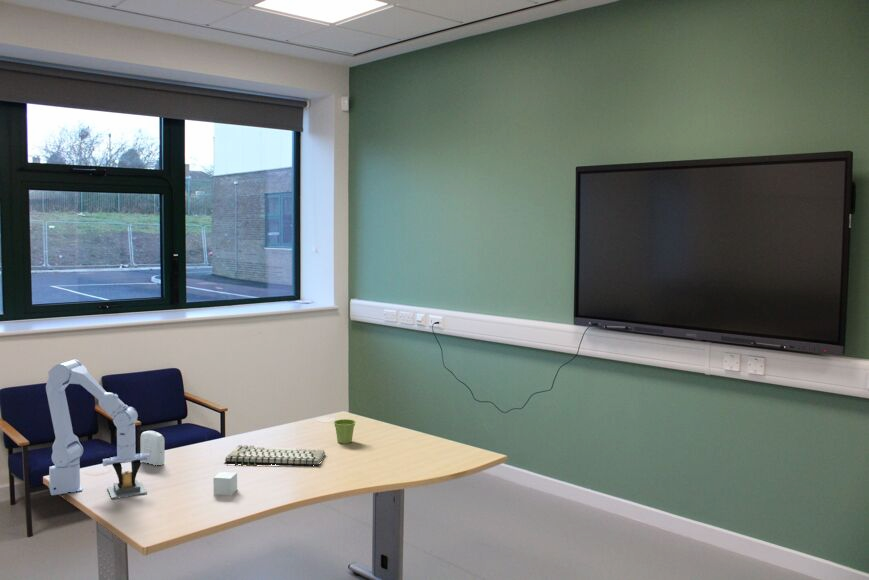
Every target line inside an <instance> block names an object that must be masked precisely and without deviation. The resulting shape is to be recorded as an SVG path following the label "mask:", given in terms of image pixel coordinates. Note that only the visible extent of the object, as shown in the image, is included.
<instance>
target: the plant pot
mask: <svg viewBox="0 0 869 580" xmlns="http://www.w3.org/2000/svg"><path fill="white" fill-rule="evenodd" d="M356 423H357V421H356V420H354V419H351V418H350V419H349V418H348V419H347V418H346V419H342V418H341V419H337V420H334V421H333V425H334V428H335V431H336V432H335V434H336V439H337V440H336V441H337V443H338V444H343V445H345V444H349V443H352V442H353V435H354V428H355V425H356Z"/></svg>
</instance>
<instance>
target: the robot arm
mask: <svg viewBox="0 0 869 580" xmlns="http://www.w3.org/2000/svg"><path fill="white" fill-rule="evenodd" d="M47 374H48V377H47V381H46V384H45V392H46V396H47V401H48V402H47V403H48V407H49V412H50V417H51V422H52V426H53V427H52V428H53V432H54V436H55V438H54V442H53V444H52V447H51V449H52V453H51V461H52V463H53V464H54V465H52V466H49V467H48V468H49V469H48V471H49V473H48V475H49V480H48V481H49V483H48V489H49V492H50V495H51V496H57V495H65V494H69V493H68V492H71V493H77V492H82V491H83V487H82V484H81V471H80V469H81V466H80V463H81V462H80V458H82V455H83V453H84V447H83V445H82V444H81V442H80V440H79V437H78V436H77V435H76V434H74V431H73V426H72V419H71V415H70V409H69V405H68V399H67V396H66V391H65V390H66V388H67V387H68V386H69V385H70V384H71V385H80V386H82V387H83V388H84V389H86V391H87V392H88V393H90V394H91V395H92V396H93V397H94V398H96V399H97V401H98V406H100V408H102V410H104V412H105V413H107V414H108V415H109V416H110V417H111V418H112V419H113V420H112V422H113V424H114V426H115V427H116V454H117V455H116V456H113V457H109V458H102V466H103V467H107V466H112V467H113V469H114V470H115V474H116V475H117V479H118V483H119V484H120V485H122V473H123V467H122V464H126V463H127V464H128V463H130V465H131V472H132V483H135V480H136V479H137V478H136V477H137V474H138V472H139V469H140V468H141V467H142V466H141V465H142V462H141V461H142V460H150V455H149V453H145V454H141V453H136V423H135V422H137V420H138V417H139V414H138V412H137V410H136V408H134V407H133V406H128V405H127V404H125V403H124V402H123V400H121V399H120V398H119V395H118V394H117V393H113V392H109V391H108V392H107V391H106V390H105V389H104V388H103V387H102V385H101V384H100V383H98V381H97V380H96V379H94V377H93V376H92V375H91V374H90V373H89V371H88V369H87V366H85V365H83V364H82V362H81V361H79V360H78V359H73V358H72V359H69V360H67V361H64V362H62V363H57V364H55V365H53V366H52V367H51V368H50V370H48V372H47ZM76 491H77V492H76Z"/></svg>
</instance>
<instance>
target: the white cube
mask: <svg viewBox="0 0 869 580" xmlns="http://www.w3.org/2000/svg"><path fill="white" fill-rule="evenodd" d="M212 480H213V495H214V494H215V495H214V496H228V495H231V496H232V495H233V494H234V493H235V492H236V491H237V490H238V472H230V471H219V473H217V474H216V475H215V476H213V479H212Z"/></svg>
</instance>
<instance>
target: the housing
mask: <svg viewBox="0 0 869 580" xmlns="http://www.w3.org/2000/svg"><path fill="white" fill-rule="evenodd" d="M107 488H108V489H107ZM107 488H106V489H107V492H108V491H109V492H108V494H109V493H110V494H109V496H111V497H110V499H111V498H112V499H111V500H114V499H113V498H118V499H120V498H119V497H124V498H127V497H126V496H130V497H134V496H133V495H136V496H140V495H139V494H143V495H146V494H145V493H147V494H148V491H147V489H146V488H145V485H144V484H143V482H142V481H140V482H139V481H138V480H137V479H135V483H132V487H129V488H122V485H120V484H119V482H115V483H113V485H112V486H107Z"/></svg>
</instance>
